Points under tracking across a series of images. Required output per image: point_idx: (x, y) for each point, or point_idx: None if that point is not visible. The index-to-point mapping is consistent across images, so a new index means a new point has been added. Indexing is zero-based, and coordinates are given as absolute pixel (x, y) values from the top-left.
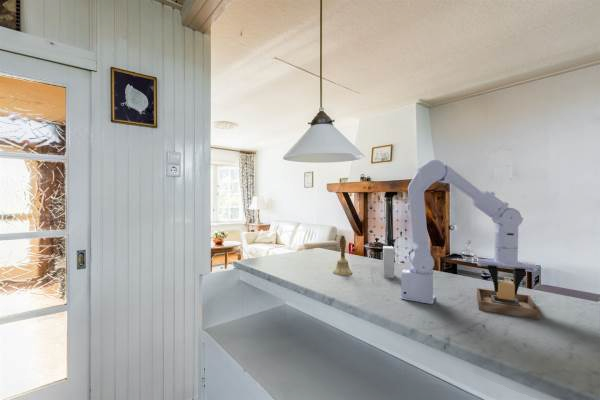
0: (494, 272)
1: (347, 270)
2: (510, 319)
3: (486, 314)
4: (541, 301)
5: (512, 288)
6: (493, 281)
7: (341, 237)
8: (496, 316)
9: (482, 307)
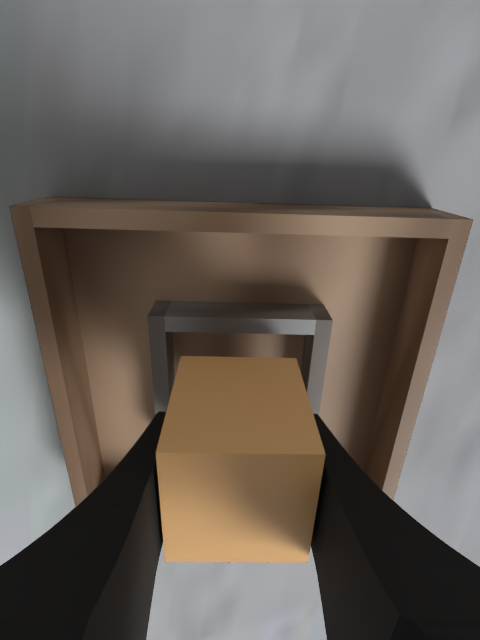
0: (438, 586)
1: None
2: (242, 86)
3: (404, 114)
4: (40, 536)
5: (184, 423)
6: (370, 480)
7: None
8: (336, 105)
9: (418, 212)
